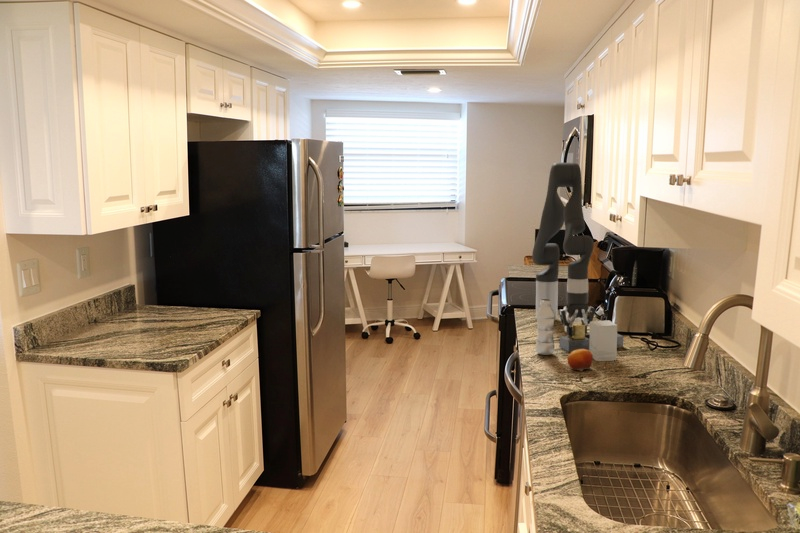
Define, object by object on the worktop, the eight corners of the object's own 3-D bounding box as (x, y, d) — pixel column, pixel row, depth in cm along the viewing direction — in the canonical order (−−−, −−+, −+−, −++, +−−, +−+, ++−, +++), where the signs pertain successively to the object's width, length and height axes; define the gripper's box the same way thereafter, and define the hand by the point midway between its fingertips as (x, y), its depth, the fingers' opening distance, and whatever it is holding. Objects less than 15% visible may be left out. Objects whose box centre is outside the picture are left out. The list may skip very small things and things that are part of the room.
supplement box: (617, 360, 220) (618, 325, 218) (596, 361, 220) (596, 326, 217) (608, 354, 227) (609, 319, 225) (588, 355, 227) (589, 320, 225)
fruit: (583, 371, 206) (575, 347, 208) (568, 377, 212) (560, 354, 215) (602, 367, 209) (593, 344, 212) (587, 373, 216) (579, 350, 218)
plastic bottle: (539, 350, 234) (540, 297, 230) (557, 353, 230) (558, 299, 227) (532, 355, 229) (532, 300, 225) (550, 358, 225) (551, 302, 221)
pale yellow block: (569, 344, 237) (569, 323, 235) (578, 343, 237) (579, 322, 236) (574, 347, 233) (575, 325, 232) (584, 346, 234) (585, 325, 232)
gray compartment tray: (559, 347, 237) (559, 336, 237) (612, 341, 242) (612, 331, 242) (568, 352, 231) (568, 341, 230) (623, 346, 236) (623, 336, 235)
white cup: (581, 329, 261) (582, 305, 259) (585, 334, 253) (585, 309, 252) (561, 329, 262) (562, 305, 260) (564, 334, 254) (565, 309, 252)
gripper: (590, 286, 237) (589, 331, 240) (554, 289, 234) (554, 334, 236) (600, 290, 230) (599, 336, 232) (564, 293, 226) (563, 340, 229)
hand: (576, 335), depth 234 cm, fingers open, 4 cm apart
